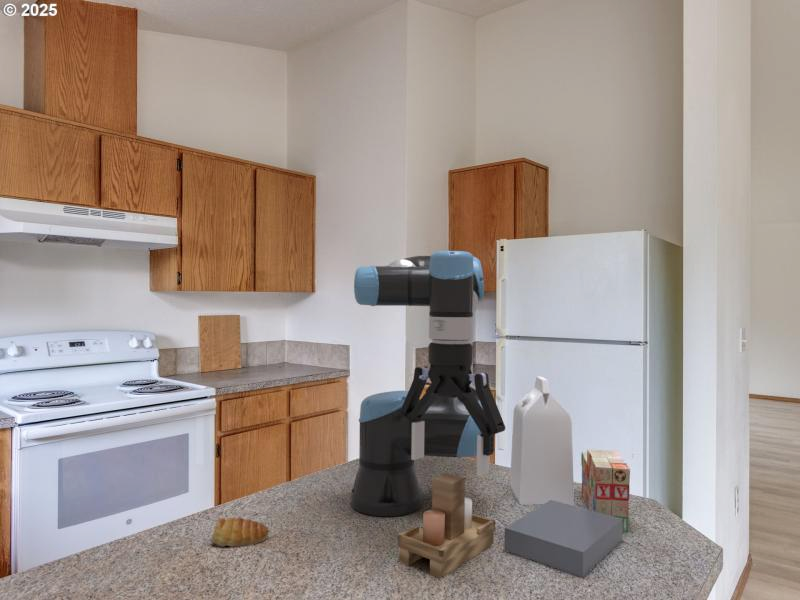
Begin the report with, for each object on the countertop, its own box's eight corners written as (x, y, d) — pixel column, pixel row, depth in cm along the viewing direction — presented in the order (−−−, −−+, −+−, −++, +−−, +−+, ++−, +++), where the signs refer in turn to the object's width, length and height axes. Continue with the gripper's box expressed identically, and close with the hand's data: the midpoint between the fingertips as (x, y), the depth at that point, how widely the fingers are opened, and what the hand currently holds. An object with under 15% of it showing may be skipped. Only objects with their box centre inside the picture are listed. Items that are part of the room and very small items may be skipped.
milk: (574, 505, 120) (576, 382, 120) (519, 504, 120) (521, 382, 120) (559, 486, 132) (561, 374, 132) (509, 485, 132) (511, 374, 132)
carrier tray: (441, 579, 88) (442, 496, 88) (397, 561, 94) (398, 483, 94) (494, 545, 100) (495, 472, 100) (452, 531, 106) (453, 462, 106)
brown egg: (418, 541, 94) (418, 513, 94) (432, 534, 96) (432, 508, 96) (435, 547, 91) (435, 519, 91) (449, 541, 94) (449, 513, 94)
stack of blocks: (580, 492, 128) (581, 438, 128) (609, 494, 127) (610, 439, 127) (594, 530, 107) (595, 465, 107) (629, 533, 106) (630, 468, 106)
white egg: (447, 526, 100) (447, 500, 100) (458, 520, 103) (459, 495, 103) (464, 531, 98) (464, 505, 98) (475, 525, 100) (476, 500, 100)
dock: (504, 550, 98) (504, 527, 98) (550, 520, 112) (550, 499, 112) (582, 577, 89) (583, 552, 89) (622, 540, 103) (622, 518, 103)
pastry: (270, 531, 105) (270, 511, 105) (265, 548, 98) (265, 526, 98) (218, 533, 104) (218, 512, 104) (209, 550, 97) (210, 528, 97)
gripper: (381, 338, 102) (380, 456, 102) (503, 347, 86) (502, 487, 86) (408, 337, 108) (406, 448, 107) (527, 345, 91) (525, 476, 91)
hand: (448, 466), depth 97 cm, fingers open, 13 cm apart
